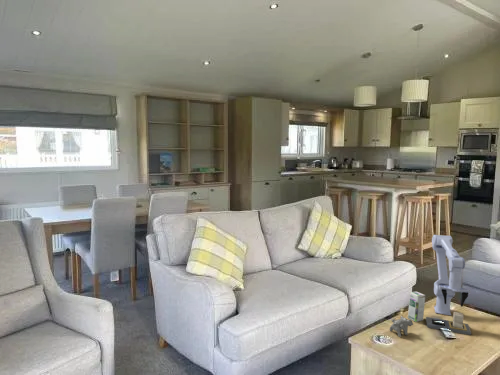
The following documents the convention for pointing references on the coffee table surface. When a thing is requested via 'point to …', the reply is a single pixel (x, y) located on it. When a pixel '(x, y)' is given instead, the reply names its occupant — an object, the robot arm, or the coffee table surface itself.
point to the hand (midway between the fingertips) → (453, 304)
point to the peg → (457, 320)
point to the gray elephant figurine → (401, 325)
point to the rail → (448, 326)
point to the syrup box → (416, 306)
